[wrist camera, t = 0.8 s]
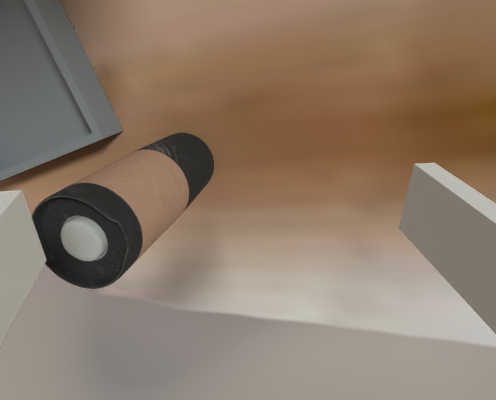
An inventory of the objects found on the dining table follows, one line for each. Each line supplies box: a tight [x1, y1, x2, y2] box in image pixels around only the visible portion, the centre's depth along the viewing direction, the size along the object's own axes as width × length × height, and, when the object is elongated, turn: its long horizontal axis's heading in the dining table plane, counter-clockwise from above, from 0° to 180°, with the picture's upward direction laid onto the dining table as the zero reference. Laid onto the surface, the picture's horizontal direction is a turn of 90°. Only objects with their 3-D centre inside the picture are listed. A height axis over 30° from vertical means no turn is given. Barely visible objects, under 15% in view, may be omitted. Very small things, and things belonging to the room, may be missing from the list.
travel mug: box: [32, 133, 214, 289], centre depth 34 cm, size 8×8×20 cm
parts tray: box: [0, 0, 123, 181], centre depth 42 cm, size 20×20×4 cm
